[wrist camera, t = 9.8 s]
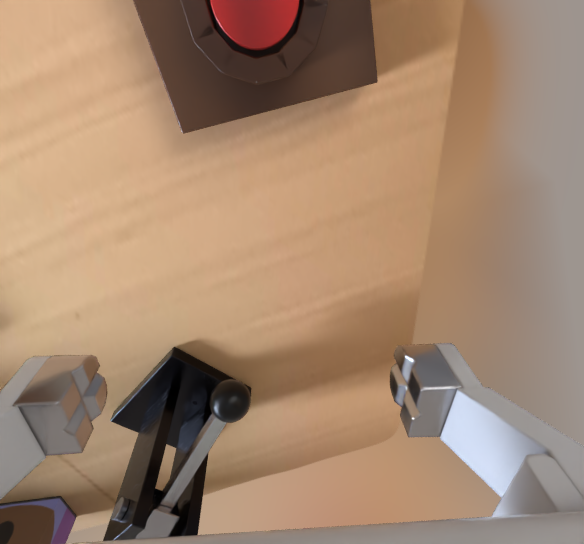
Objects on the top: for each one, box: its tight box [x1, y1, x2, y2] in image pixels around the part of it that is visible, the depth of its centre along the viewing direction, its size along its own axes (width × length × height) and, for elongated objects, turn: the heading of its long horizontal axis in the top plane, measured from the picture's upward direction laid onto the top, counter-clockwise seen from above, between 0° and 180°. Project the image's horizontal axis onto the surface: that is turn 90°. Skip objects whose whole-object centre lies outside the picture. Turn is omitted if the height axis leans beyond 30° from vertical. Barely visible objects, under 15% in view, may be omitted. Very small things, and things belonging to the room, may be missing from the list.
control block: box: [133, 0, 378, 133], centre depth 18 cm, size 12×10×4 cm
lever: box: [133, 379, 251, 539], centre depth 27 cm, size 13×3×3 cm, turn 137°
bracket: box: [103, 347, 251, 541], centre depth 30 cm, size 11×9×13 cm
